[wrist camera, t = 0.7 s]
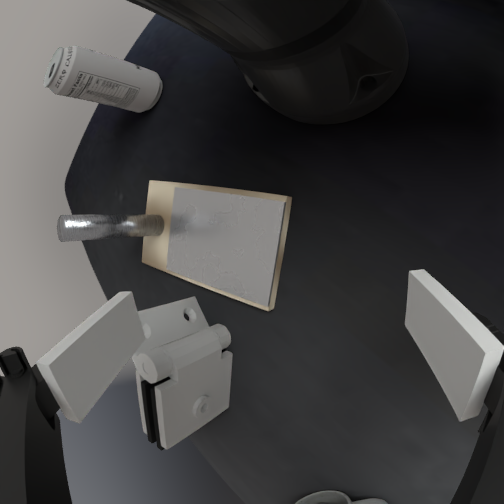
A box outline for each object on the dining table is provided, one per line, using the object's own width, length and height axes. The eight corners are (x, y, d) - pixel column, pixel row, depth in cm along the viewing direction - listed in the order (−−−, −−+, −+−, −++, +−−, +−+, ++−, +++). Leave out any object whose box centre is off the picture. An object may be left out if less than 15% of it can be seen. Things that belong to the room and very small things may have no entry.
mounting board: (156, 180, 34) (149, 180, 33) (292, 197, 25) (287, 196, 24) (148, 261, 36) (141, 262, 35) (273, 308, 27) (268, 311, 26)
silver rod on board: (155, 185, 33) (61, 178, 23) (286, 202, 24) (176, 188, 14) (148, 260, 34) (57, 272, 24) (269, 306, 26) (164, 351, 16)
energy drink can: (167, 68, 32) (69, 33, 20) (162, 107, 33) (55, 80, 21) (140, 81, 36) (49, 56, 23) (135, 118, 36) (38, 99, 24)
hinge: (190, 295, 33) (114, 315, 24) (228, 297, 30) (149, 321, 21) (207, 404, 33) (145, 442, 25) (243, 415, 30) (182, 461, 22)
